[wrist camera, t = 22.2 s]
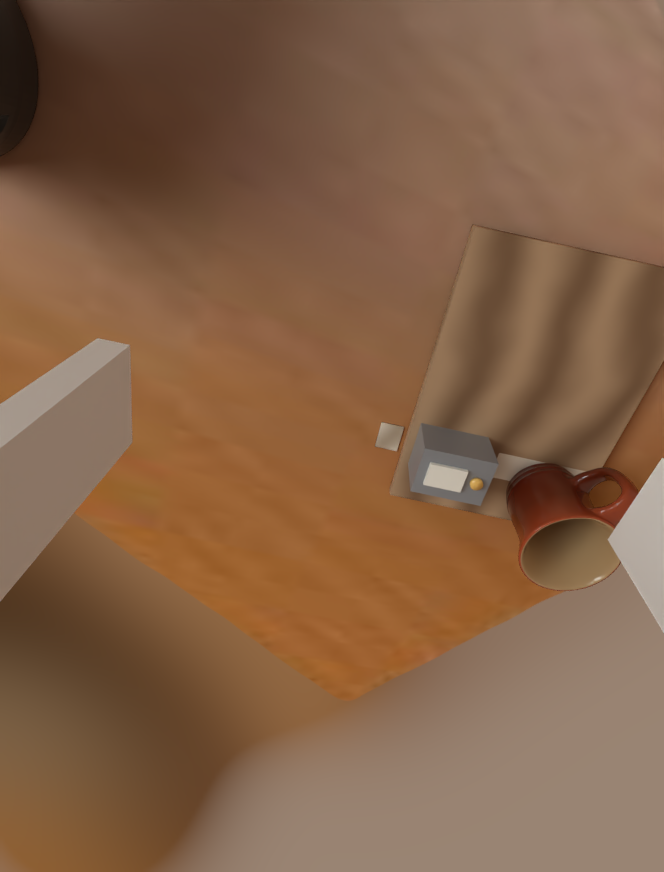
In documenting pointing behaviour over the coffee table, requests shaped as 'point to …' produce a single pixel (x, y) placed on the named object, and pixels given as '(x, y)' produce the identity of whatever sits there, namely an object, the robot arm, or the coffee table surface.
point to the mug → (565, 524)
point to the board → (537, 358)
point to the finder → (451, 464)
